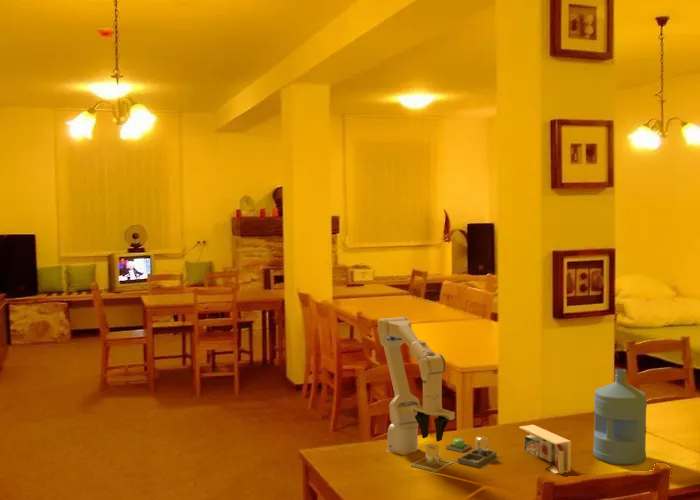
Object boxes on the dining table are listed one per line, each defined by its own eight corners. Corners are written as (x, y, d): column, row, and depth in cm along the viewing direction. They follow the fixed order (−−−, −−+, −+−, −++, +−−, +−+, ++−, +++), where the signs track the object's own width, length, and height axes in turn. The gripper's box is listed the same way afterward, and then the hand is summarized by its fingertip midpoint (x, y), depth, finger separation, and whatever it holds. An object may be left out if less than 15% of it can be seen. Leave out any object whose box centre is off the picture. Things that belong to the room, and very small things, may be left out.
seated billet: (473, 457, 232) (473, 438, 231) (479, 453, 235) (479, 435, 235) (484, 459, 229) (484, 440, 229) (490, 456, 232) (490, 437, 232)
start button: (451, 449, 240) (451, 440, 240) (456, 446, 243) (456, 437, 243) (460, 451, 238) (460, 442, 238) (466, 448, 241) (466, 439, 241)
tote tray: (411, 468, 225) (411, 464, 225) (427, 460, 232) (427, 456, 232) (437, 475, 219) (437, 470, 219) (452, 466, 227) (452, 462, 227)
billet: (422, 466, 226) (422, 446, 225) (429, 462, 229) (429, 443, 228) (434, 468, 223) (434, 449, 223) (441, 465, 226) (441, 446, 226)
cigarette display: (518, 455, 237) (518, 426, 237) (532, 453, 240) (533, 424, 239) (558, 475, 219) (558, 444, 218) (573, 473, 221) (573, 442, 221)
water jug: (607, 446, 246) (608, 362, 244) (654, 457, 235) (655, 369, 233) (584, 457, 235) (585, 370, 233) (632, 469, 224) (633, 378, 222)
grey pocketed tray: (452, 465, 228) (453, 457, 228) (472, 454, 238) (472, 446, 238) (482, 472, 222) (482, 463, 222) (501, 461, 232) (501, 452, 232)
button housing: (445, 452, 240) (446, 446, 240) (455, 447, 245) (455, 441, 245) (462, 456, 236) (462, 449, 236) (471, 451, 241) (471, 445, 241)
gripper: (459, 395, 223) (459, 440, 224) (419, 388, 232) (419, 431, 233) (447, 400, 218) (447, 446, 219) (406, 393, 227) (406, 436, 227)
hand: (432, 438), depth 225 cm, fingers open, 4 cm apart
